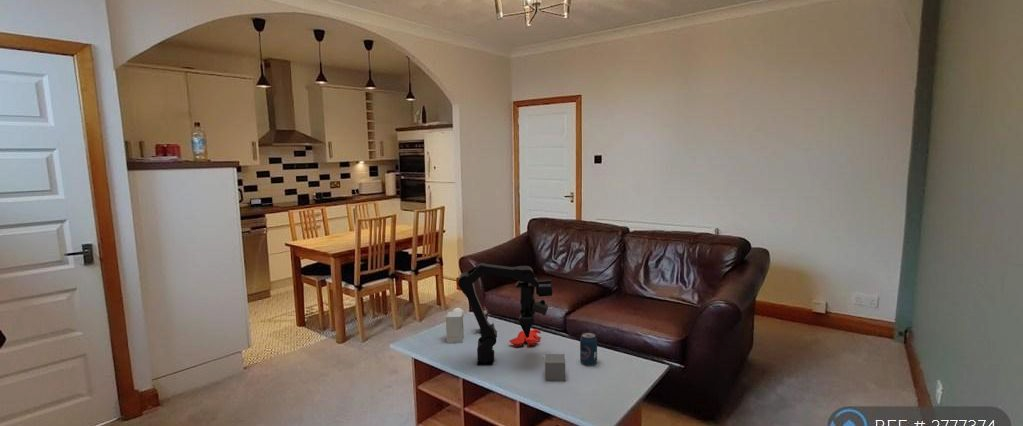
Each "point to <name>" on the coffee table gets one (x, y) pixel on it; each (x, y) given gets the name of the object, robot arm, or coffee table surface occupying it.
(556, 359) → the grey cube
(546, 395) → the coffee table surface
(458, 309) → the lightbulb
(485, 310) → the sundae
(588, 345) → the soda can
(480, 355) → the robot arm
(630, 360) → the coffee table surface
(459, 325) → the supplement box
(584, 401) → the coffee table surface
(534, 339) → the animal figurine
